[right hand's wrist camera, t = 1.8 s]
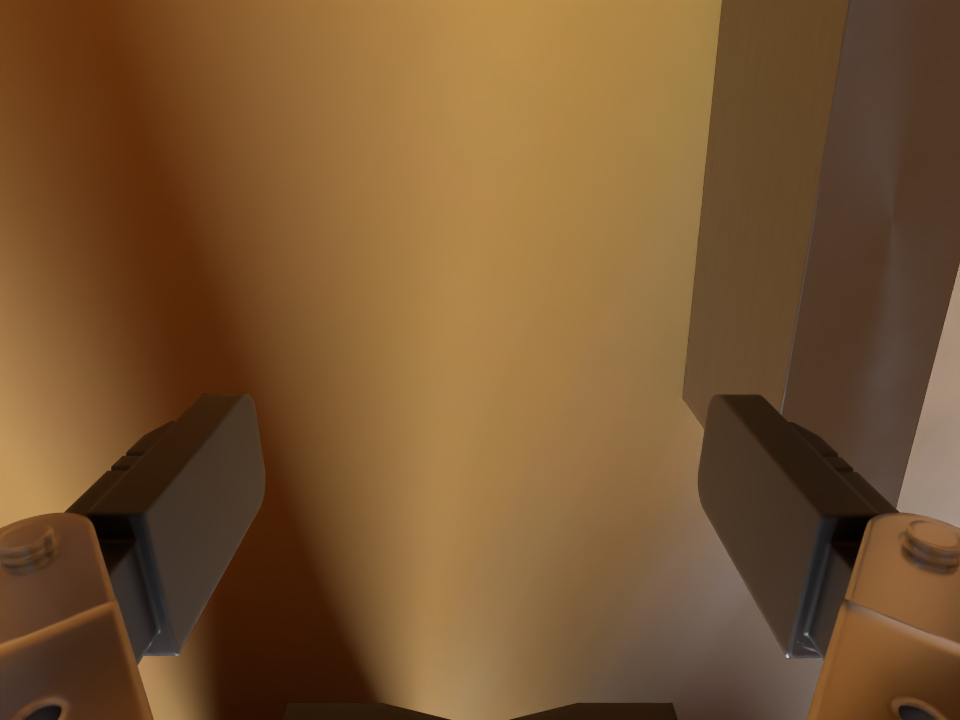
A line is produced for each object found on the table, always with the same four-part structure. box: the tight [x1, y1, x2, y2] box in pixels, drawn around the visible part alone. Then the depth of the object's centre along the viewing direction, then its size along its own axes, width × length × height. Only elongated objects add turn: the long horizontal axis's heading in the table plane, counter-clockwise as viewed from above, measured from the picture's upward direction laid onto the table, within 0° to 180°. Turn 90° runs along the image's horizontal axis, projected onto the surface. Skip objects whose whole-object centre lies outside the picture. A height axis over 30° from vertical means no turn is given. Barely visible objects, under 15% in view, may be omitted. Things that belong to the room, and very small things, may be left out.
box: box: [683, 0, 960, 509], centre depth 28 cm, size 25×6×12 cm, turn 2°
